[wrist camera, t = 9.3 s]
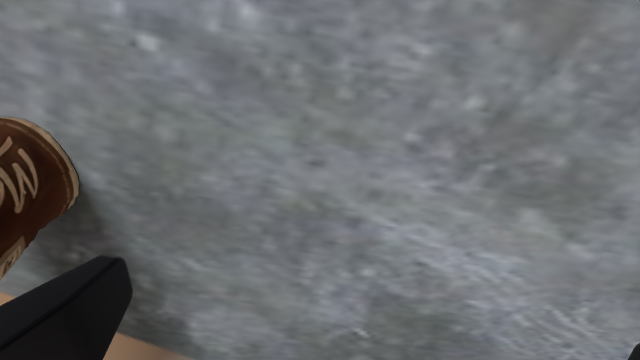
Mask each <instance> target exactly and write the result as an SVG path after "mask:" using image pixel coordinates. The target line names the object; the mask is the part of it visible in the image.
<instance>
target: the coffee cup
mask: <svg viewBox="0 0 640 360" xmlns="http://www.w3.org/2000/svg"><path fill="white" fill-rule="evenodd" d="M78 188H79V181H78V177H77V174H76V171H75V169H74V168H73V166H72V164H71V162H70V160H69V159H68V157H67V155H66V154H65V153H64V151H63V150H62V148H61V147H60V145H59V144H58V143H57V142H56V141H55V140H54V138H53V137H52V136H51V135H50V134H49V133H48V132H47V131H45V130H44V129H42V128H40V127H39V126H37V125H35V124H33V123H31V122H29V121H27V120H23V119H18V118H5V117H0V280H1V279H2V277H3V276H4V275H5V274H6V273H7V271H8V270H9V269H10V268H11V267H12V265H13V264H14V263H15V262H16V261H17V260H18V259H19V257H20V255H21V254H22V253H23V251H24V249H25V248H27V247H28V245H29V243H30V242H31V241H32V240H34V238H35V237H36V235H37V233H38V230H39V229H42V228H44V227H45V226H46V225H47V224H48V223H49V222H50V221H51V220H53V219H55V218H57V217H59V216H60V215H62V214H63V213H64V212H66V211H67V210H68V209H69V208H70V206H72V205H73V204H74V203H75V198H76V197H77V196H78V194H79V191H78Z"/></svg>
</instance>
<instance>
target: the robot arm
mask: <svg viewBox="0 0 640 360" xmlns="http://www.w3.org/2000/svg"><path fill="white" fill-rule="evenodd" d="M132 293H133V289H132V284H131V280H130V276H129V272H128V268H127V265H126V262H125V260H124V259H123V258H121V257H117V256H111V255H100V256H98V257H96V258H94V259H92V260H90V261H88V262H86V263H84V264H82V265H80V266H78V267H76V268H74V269H72V270H70V271H68V272H66V273H64V274H62V275H60V276H58V277H56V278H54V279H52V280H50V281H48V282H46V283H44V284H42V285H40V286H38V287H36V288H34V289H32V290H30V291H29V292H27V293H25V294H23V295H21V296H19V297H17V298H15V299H13V300H11V301H9V302H7V303H5V304H3V305H1V306H0V360H103V358H104V356H105V354H106V352H107V350H108V348H109V345H110V343H111V341H112V339H113V337H114V335H115V333H116V331H117V329H118V327H119V324H120V322H121V320H122V318H123V316H124V314H125V312H126V310H127V308H128V306H129V303H130V301H131V298H132ZM628 360H640V343H639V344H637V345H636V346H635V348H634V349H633V351H632V353H631V355H630V356H629V358H628Z"/></svg>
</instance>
